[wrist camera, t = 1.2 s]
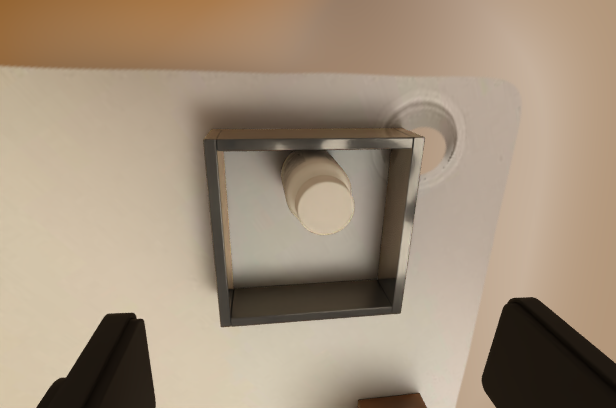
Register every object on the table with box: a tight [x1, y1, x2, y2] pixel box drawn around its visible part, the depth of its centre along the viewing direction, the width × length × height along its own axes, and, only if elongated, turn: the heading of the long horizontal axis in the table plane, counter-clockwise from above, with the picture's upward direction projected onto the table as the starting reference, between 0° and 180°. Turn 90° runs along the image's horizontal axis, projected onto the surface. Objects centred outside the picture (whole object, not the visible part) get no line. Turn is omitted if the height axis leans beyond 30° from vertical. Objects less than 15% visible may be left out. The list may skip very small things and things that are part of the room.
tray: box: [203, 128, 425, 327], centre depth 27 cm, size 15×15×4 cm
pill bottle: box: [281, 150, 354, 235], centre depth 24 cm, size 4×4×8 cm
